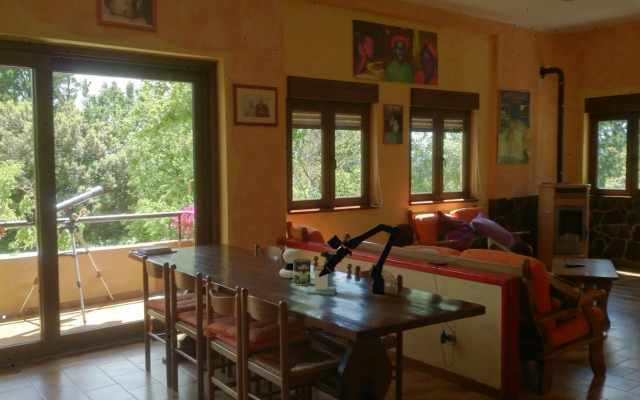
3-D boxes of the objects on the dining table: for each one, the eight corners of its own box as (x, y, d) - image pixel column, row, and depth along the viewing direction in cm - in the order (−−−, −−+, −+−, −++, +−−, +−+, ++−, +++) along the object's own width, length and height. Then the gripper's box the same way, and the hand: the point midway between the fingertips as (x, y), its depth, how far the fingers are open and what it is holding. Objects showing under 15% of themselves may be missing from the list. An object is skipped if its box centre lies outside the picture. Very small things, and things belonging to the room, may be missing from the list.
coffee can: (312, 285, 341) (312, 261, 340) (295, 285, 338) (295, 261, 337) (308, 281, 351) (308, 258, 350) (291, 282, 348) (291, 258, 347)
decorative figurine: (306, 276, 368) (307, 244, 367) (296, 280, 355) (296, 247, 354) (286, 273, 374) (286, 243, 373) (275, 277, 361) (275, 245, 360)
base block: (334, 290, 332) (334, 286, 331) (334, 296, 317) (334, 292, 316) (308, 289, 332) (308, 286, 332) (307, 295, 317) (307, 291, 317)
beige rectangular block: (327, 287, 327) (327, 267, 327) (327, 290, 320) (327, 269, 320) (315, 287, 328) (315, 266, 327) (314, 290, 321) (314, 269, 320)
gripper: (329, 242, 332) (309, 261, 333) (328, 247, 313) (308, 267, 314) (343, 256, 332) (323, 275, 333) (343, 262, 313) (322, 282, 314)
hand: (319, 274), depth 324 cm, fingers open, 9 cm apart
